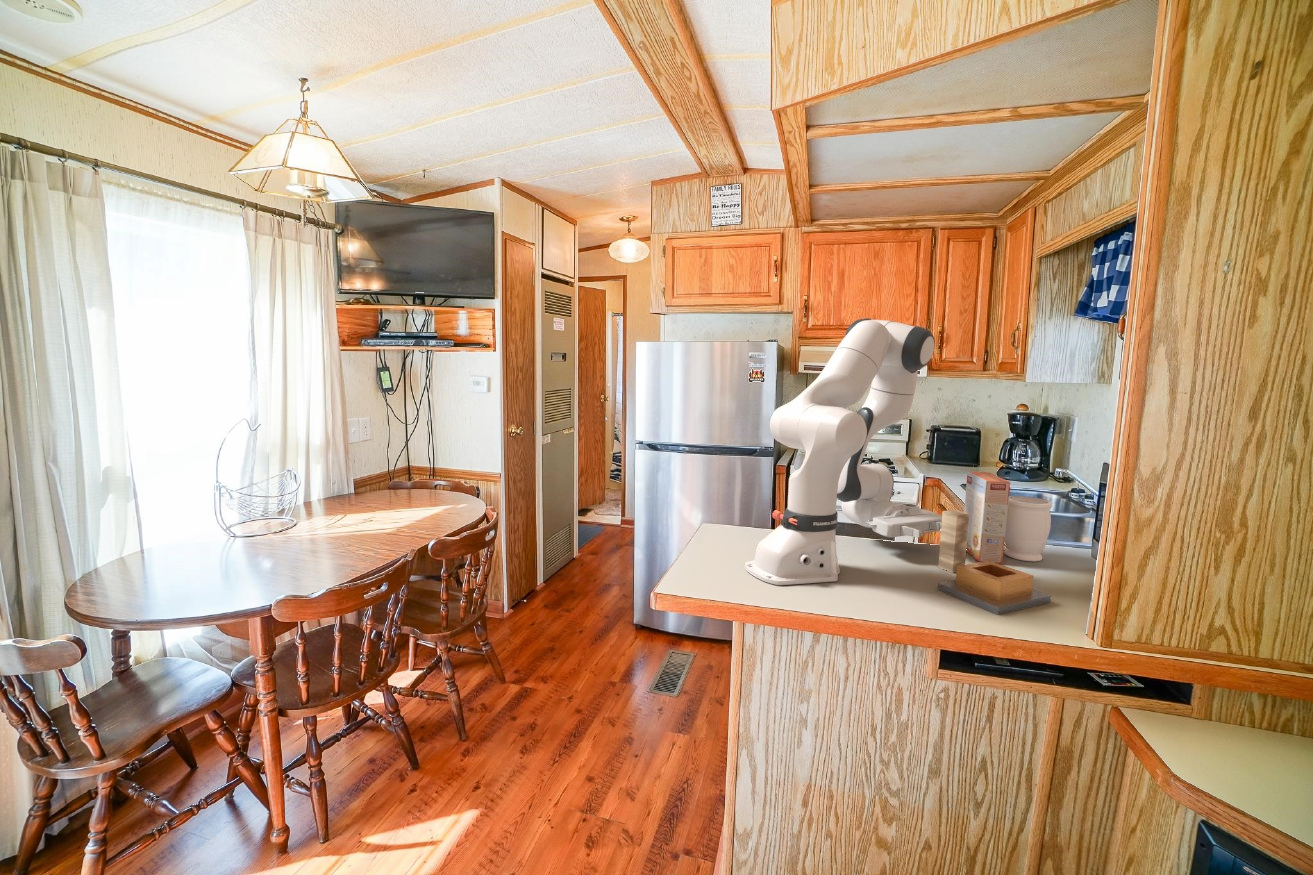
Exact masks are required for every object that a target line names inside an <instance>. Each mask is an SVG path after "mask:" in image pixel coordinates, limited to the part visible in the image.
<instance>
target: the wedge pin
mask: <svg viewBox="0 0 1313 875" xmlns="http://www.w3.org/2000/svg"><path fill="white" fill-rule="evenodd" d="M941 515H942V525H941V533H940V539H939V552H938V553H939V555H938V566H937V567H939V568H938V569H940V568H941V570H943V569H944V570H943V571H946V570H947V571H946V572H948V571H949V572H948V573H951V572H952V573H951V574H954V573H953V572H956V573H957V566H961V565H966V560H967V559H966V558H967V557H966V556H967V551H966V546H967V534H968V522H969V513H965V512H964V511H961V510H957V509H948V510H943V511H942V514H941Z"/></svg>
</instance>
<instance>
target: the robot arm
mask: <svg viewBox="0 0 1313 875" xmlns="http://www.w3.org/2000/svg"><path fill="white" fill-rule="evenodd" d="M935 346H936V339H935V336H934V335H933V332H932V331H931V330H930V329H928V328H925V327H922V326H919V325H916V326H914V325H910V324H906V323H903V322H902V323H901V322H896V321H893V320H887V319H886V320H885V319H871V318H867V317H866V318H860V319H856V320H855V321H853V322H852V323H851V324H850V325H849V326H848V328H847V329H846V331H845V334H844V337H843V339H842V340H841V342H839V344H838V346H837V347H836V349H835V350H834V352H833V354H832V355H831V357H830V358H829V359H828V361H827V363H826V364H825V366H824V367H823V369H822V371H821V372H820V373H819V375H818V376H817V377H816V379H814V381H812V383H810V384H809V385H808V386H807V387H806V388H805V389H804V390H803V391H802V392H801V393H800V394H799V395H797V396H796V397H795V398H794V399H792V400H791V401H789V402H787V403H786V404H783V405H780V406H779V407H778V408H776V409H775V410H774V411H773V413H772V415H771V416H770V417H771V418H770V420H769V430H770V434H771V436H772V438H773V439H774V440H775V441H777V442H778V443H779V444H782V445H784V446H785V447H788V448H791V449H796V450H800V451H805V455H804V458H803V461H802V464H801V466H800V467H799V468H798V469H796V470H794V471H793V472H792V473H791V474H790V475H789V478H788V490H787V491H788V492H787V494H788V495H787V507H786V508H785V510H784V512H782V511H779V510H774V511H773V512H772V518H773V519H774V520H777V521H780V524H779V525H778V526H777V527H776V528H774V530H773V531H771V532H770V533H769V534H767V535H766V536H765V537H764V538H763V539H761V540H760V541H759V542H758V544H757V545H756V549H755V554H754V559H752V560H748V561H745V564H744V570H746V571H747V573H749V574H751V576H754V577H755V578H757V579H759V580H760V581H763V582H766V583H768V584H771V585H776V586H786V585H802V584H804V585H805V584H812V583H813V584H814V583H815V584H817V583H829V582H838V581H839V580H838V578H839V576H838V575H839V574H840V573H841V570H840V566H839V564H840V563H839V558H838V554H837V552H838V551H837V542H836V529H837V528H838V523H839V521H838V517H839V516H838V512H837V501H838V500H839V501H841V510H842V513H843V514H844V516H845V517H846V518H847V520H850V521H851V522H853V523H855V524H857V525H860V526H862V527H864V528H868V529H872V532H875V533H877V534H878V535H881V536H883V537H886V538H897V537H905V536H906V537H913V538H923V537H924V534H927V533H936V532H940V534H941V525H942V514H939V513H937V512H933V511H930V510H928V509H923V508H921V507H920V506H919V505H916V504H905V503H904V504H903V503H899V502H894V501H891V500H892V497H893V496H892V495H893V491H894V483H895V481H894V475H893V473H892V471H891V470H890V469H889V468H888V466H886V465H885V464H883V463H864V464H862V461H863V460H864V457H865V453H866V451H867V448H868V445H869V442H870V441H871V439H872V438H873V437H874V436H875V435H876V434H877V433H878V432H880V431H881V430H884V429H886V428H887V427H890V426H893V425H894V424H897V423H899V422H901V421H902V420H903V419H905V417H907V415H908V413H909V412H910V409H911V408H912V405H913V401H914V397H915V392H916V388H917V381H918V371H919V370H921V369H923V368H925V367H926V366H927V365H928V364H929V363H930V361H931V359H932V358H933V355H934V353H935ZM869 387H870V388H869ZM868 389H869V392H868V395H867V397H866V400H865V402H864V403H863V405H862V407H860V409H858V411H857V412H855V411H853V410H851V409H848V407H850V406H853V405H855V404H857V403H858V402H859V401H861V399H862V398H864V395H865V394H866V393H867V391H868Z"/></svg>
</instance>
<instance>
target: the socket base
mask: <svg viewBox="0 0 1313 875" xmlns="http://www.w3.org/2000/svg"><path fill="white" fill-rule="evenodd" d="M955 574H956V577H955V578H954V579H950V580H946V581H940V582H937V587H936V588H937V589H936V590H938V591H941V592H943V593H946V594H948V595H950V596H952V597H954V598H957V599H959V600H962V601H964V602H966V603H969V604H971V605H973V606H975V607H978V608H981V609H983V610H986V611H988V612H990V613H992V614H995V615H1003V614H1006V613H1011V612H1016V611H1020V610H1024V609H1029V608H1033V606H1034V607H1038V606H1041V604H1042V605H1047V604H1050V603H1051V599H1052V595H1051V594H1047V593H1044V592H1042V591H1038V590H1036V589H1033V588H1034V587H1033V585H1034V578H1035V577H1034V575H1033V574H1030V573H1027V572H1023V571H1021V570H1018V569H1015V568H1011V567H1009V566H1006V565H1003V564H1000V563H995V562H992V561H984V562H979V561H977V562H974V563H968V564H966V563H965V565H961V566H957V572H956V573H955ZM1046 603H1047V604H1046Z"/></svg>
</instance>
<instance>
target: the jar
mask: <svg viewBox="0 0 1313 875" xmlns="http://www.w3.org/2000/svg"><path fill="white" fill-rule="evenodd" d="M1052 507H1053V502H1052V501H1050V500H1046V499H1043V498H1039V497H1032V496H1026V495H1025V496H1023V495H1009V503H1008V512H1007V522H1006V532H1005V542H1004V546H1006V549H1004V552H1003V554H1005V556H1007V557H1009V558H1011V559H1015V560H1019V561H1025V562H1040V561H1042V560H1043V556H1042V554H1041V553H1042V552H1043V551H1044V549H1045V547H1046V544H1047V542H1048V538H1049V535H1050V532H1051V523H1052V515H1051V510H1050V509H1051V508H1052Z"/></svg>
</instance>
